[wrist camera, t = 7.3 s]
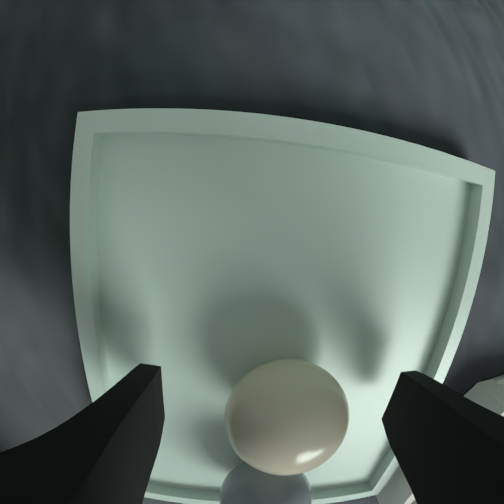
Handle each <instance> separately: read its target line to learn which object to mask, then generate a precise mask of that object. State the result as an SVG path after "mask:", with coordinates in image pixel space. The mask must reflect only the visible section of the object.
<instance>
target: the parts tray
mask: <svg viewBox="0 0 504 504" xmlns="http://www.w3.org/2000/svg"><path fill="white" fill-rule="evenodd" d="M494 180H495V171H494V170H491V169H489V168H486V167H484V166H481V165H478V164H476V163H473V162H470V161H468V160H465V159H462V158H459V157H456V156H453V155H450V154H447V153H444V152H441V151H438V150H435V149H431V148H428V147H425V146H421V145H418V144H414V143H411V142H407V141H404V140H400V139H396V138H392V137H388V136H384V135H380V134H376V133H372V132H367V131H363V130H358V129H353V128H349V127H344V126H338V125H333V124H328V123H322V122H316V121H310V120H304V119H297V118H290V117H283V116H275V115H267V114H258V113H248V112H236V111H223V110H206V109H179V108H139V109H112V110H96V111H84V112H78V114H77V121H76V128H75V137H74V146H73V157H72V170H71V188H70V252H71V271H72V284H73V295H74V304H75V312H76V320H77V327H78V334H79V340H80V346H81V352H82V358H83V363H84V368H85V373H86V377H87V382H88V386H89V391H90V395H91V399H92V403H93V402H94V401H95V400H97V399H98V398H99V397H100V396H102V395H103V394H104V393H105V392H107V391H108V390H109V389H110V388H111V387H113V386H114V385H115V384H116V383H117V382H119V381H120V380H121V379H122V378H123V377H124V376H126V375H127V374H128V373H129V372H130V371H131V370H132V369H134V368H135V367H136V366H137V365H139V364H140V363H143V364H149V365H156V366H161V374H162V388H163V401H164V412H165V420H164V426H163V432H162V437H161V442H160V447H159V450H158V453H157V457H156V460H155V463H154V466H153V469H152V473H151V476H150V479H149V482H148V485H147V488H146V492H145V495H144V497H147V498H152V499H158V500H163V501H170V502H177V503H184V504H220V502H219V493H220V488H221V485H222V483H223V481H224V479H225V478H226V476H227V475H228V474H229V473H230V472H231V471H232V470H233V469H234V468H235V467H237V466H238V465H240V464H242V463H244V462H245V461H244V460H242V459H241V458H240V457H239V456H238V455H237V453H236V452H235V451H234V449H233V448H232V446H231V444H230V442H229V440H228V438H227V434H226V431H225V425H224V413H225V407H226V403H227V400H228V398H229V395H230V393H231V391H232V390H233V388H234V386H235V385H236V384H237V383H238V381H239V380H240V379H241V378H242V377H243V376H244V375H245V374H247V373H248V372H249V371H251V370H252V369H254V368H255V367H257V366H259V365H262V364H264V363H267V362H270V361H274V360H280V359H299V360H304V361H307V362H311V363H313V364H316V365H318V366H320V367H321V368H323V369H324V370H326V371H327V372H329V373H330V374H331V375H332V376H333V377H334V378H335V379H336V380H337V381H338V383H339V384H340V386H341V387H342V389H343V391H344V393H345V395H346V398H347V401H348V405H349V426H348V429H347V433H346V436H345V438H344V440H343V442H342V444H341V446H340V447H339V448H338V450H337V451H336V452H335V454H334V455H333V456H332V457H331V458H330V459H328V460H327V461H326V462H325V463H323V464H322V465H320V466H319V467H317V468H315V469H313V470H310V471H308V472H305V473H304V474H305V476H306V477H307V479H308V481H309V482H310V485H311V489H312V503H311V504H326V503H334V502H341V501H347V500H353V499H358V498H364V497H369V496H373V495H378V494H379V493H380V492H381V490H382V489H383V487H384V486H385V485H386V483H387V482H388V480H389V479H390V477H391V476H392V474H393V473H394V471H395V470H396V468H397V467H398V465H399V464H398V462H397V459H396V457H395V455H394V453H393V451H392V449H391V447H390V445H389V442H388V439H387V436H386V433H385V429H384V426H383V422H382V417H383V414H384V412H385V410H386V408H387V405H388V403H389V401H390V398H391V396H392V393H393V391H394V388H395V386H396V383H397V381H398V378H399V376H400V373H401V372H405V371H415V370H416V371H418V372H421V373H423V374H425V375H427V376H429V377H431V378H432V379H434V380H436V381H438V382H440V383H441V384H443V382H444V379H445V377H446V375H447V372H448V370H449V368H450V365H451V363H452V360H453V358H454V355H455V353H456V350H457V347H458V344H459V342H460V339H461V336H462V333H463V330H464V327H465V324H466V321H467V318H468V315H469V312H470V308H471V305H472V302H473V298H474V294H475V291H476V287H477V283H478V279H479V275H480V271H481V266H482V262H483V257H484V252H485V247H486V242H487V236H488V230H489V224H490V217H491V210H492V201H493V192H494Z"/></svg>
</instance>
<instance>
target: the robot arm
mask: <svg viewBox="0 0 504 504" xmlns="http://www.w3.org/2000/svg"><path fill="white" fill-rule="evenodd" d="M164 420H165V412H164V401H163V388H162V374H161V366H156V365H149V364H143V363H140V364H139V365H137V366H136V367H135V368H134V369H132V370H131V371H130V372H129V373H128V374H127V375H126V376H124V377H123V378H122V379H121V380H120V381H119V382H117V383H116V384H115V385H114V386H113V387H111V388H110V389H109V390H108V391H107V392H105V393H104V394H103V395H102V396H100V397H99V398H98V399H97V400H95V401H94V402H93V403H91V404H90V405H89V406H87V407H86V408H85V409H83V410H82V411H80V412H79V413H77V414H76V415H75V416H73V417H72V418H70V419H69V420H67V421H66V422H64V423H62V424H61V425H59V426H58V427H56V428H54V429H52V430H51V431H49V432H47V433H45V434H43V435H41V436H39V437H37V438H35V439H33V440H31V441H29V442H26V443H24V444H21V445H19V446H16V447H14V448H11V449H9V450H6V451H4V452H1V453H0V504H142V501H143V498H144V495H145V492H146V488H147V485H148V482H149V479H150V476H151V473H152V469H153V466H154V463H155V460H156V457H157V453H158V450H159V447H160V442H161V437H162V432H163V426H164ZM382 422H383V426H384V429H385V433H386V436H387V439H388V442H389V445H390V447H391V449H392V451H393V453H394V455H395V457H396V459H397V462H398V464H399V466H400V468H401V470H402V472H403V474H404V476H405V478H406V480H407V482H408V484H409V486H410V488H411V490H412V493H413V495H414V498H415V500H416V503H417V504H504V416H502V415H499V414H497V413H495V412H493V411H491V410H489V409H487V408H485V407H483V406H481V405H479V404H477V403H475V402H473V401H471V400H470V399H468V398H466V397H464V396H462V395H461V394H459V393H457V392H455V391H454V390H452V389H450V388H448V387H447V386H445V385H443V384H441V383H440V382H438V381H436V380H434V379H432V378H431V377H429V376H427V375H425V374H423V373H421V372H418V371H416V370H415V371H405V372H401V373H400V376H399V378H398V381H397V383H396V386H395V388H394V391H393V393H392V396H391V398H390V401H389V403H388V405H387V408H386V410H385V412H384V414H383V417H382Z"/></svg>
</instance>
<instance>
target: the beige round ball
mask: <svg viewBox="0 0 504 504" xmlns="http://www.w3.org/2000/svg"><path fill="white" fill-rule="evenodd" d="M224 425H225V431H226V434H227V438H228V440H229V442H230V444H231V446H232V448H233V449H234V451H235V452H236V453H237V455H238V456H239V457H240V458H241V459H242V460H244V461H245V462H246V463H247V464H249V465H250V466H252V467H254V468H256V469H257V470H260V471H262V472H265V473H269V474H273V475H282V476H286V475H296V474H301V473H305V472H308V471H310V470H313V469H315V468H317V467H319V466H320V465H322V464H323V463H325V462H326V461H327V460H328V459H330V458H331V457H332V456H333V455H334V454H335V452H336V451H337V450H338V448H339V447H340V446H341V444H342V442H343V440H344V438H345V436H346V433H347V429H348V426H349V405H348V401H347V398H346V395H345V393H344V391H343V389H342V387H341V386H340V384H339V383H338V381H337V380H336V379H335V378H334V377H333V376H332V375H331V374H330V373H329V372H327V371H326V370H324V369H323V368H321V367H320V366H318V365H316V364H313V363H311V362H307V361H304V360H299V359H280V360H274V361H270V362H267V363H264V364H262V365H259V366H257V367H255V368H254V369H252V370H251V371H249V372H248V373H247V374H245V375H244V376H243V377H242V378H241V379H240V380H239V381H238V383H237V384H236V385H235V386H234V388H233V390H232V391H231V393H230V395H229V398H228V400H227V403H226V407H225V413H224Z"/></svg>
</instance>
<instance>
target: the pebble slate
mask: <svg viewBox="0 0 504 504" xmlns="http://www.w3.org/2000/svg"><path fill="white" fill-rule="evenodd" d="M219 502H220V504H311V503H312V489H311V485H310V482H309V481H308V479H307V477H306V476H305V474H304V473H301V474H296V475H286V476H282V475H273V474H269V473H265V472H262V471H260V470H257V469H256V468H254V467H252V466H250V465H249V464H247V463H246V462H244V463H242V464H240V465H238V466H237V467H235V468H234V469H233V470H232V471H231V472H230V473H229V474H228V475H227V476H226V478H225V479H224V481H223V483H222V485H221V488H220V493H219Z"/></svg>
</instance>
